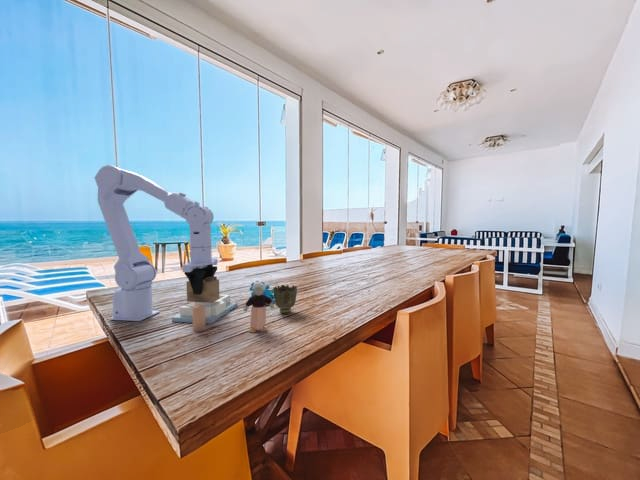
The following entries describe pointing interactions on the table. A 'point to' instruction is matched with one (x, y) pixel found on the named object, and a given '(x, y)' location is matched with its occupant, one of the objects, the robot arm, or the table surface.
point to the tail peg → (198, 317)
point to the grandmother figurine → (258, 307)
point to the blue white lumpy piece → (265, 292)
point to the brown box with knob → (205, 291)
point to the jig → (207, 310)
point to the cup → (285, 298)
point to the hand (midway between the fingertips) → (202, 292)
